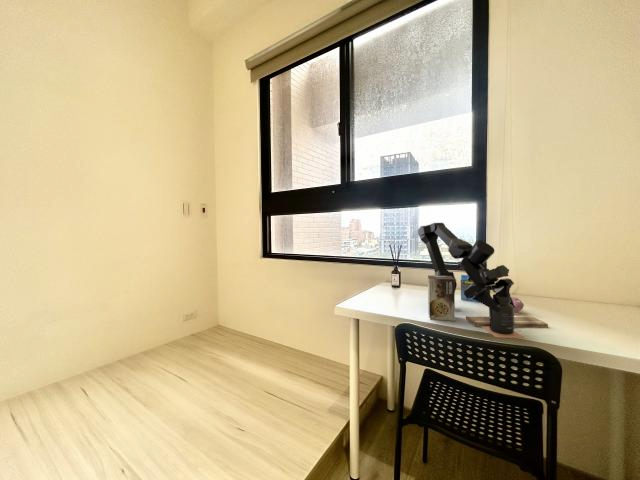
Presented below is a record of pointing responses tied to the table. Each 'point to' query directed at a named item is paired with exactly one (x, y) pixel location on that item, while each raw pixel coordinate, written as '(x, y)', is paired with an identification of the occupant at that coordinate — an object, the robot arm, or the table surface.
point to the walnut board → (517, 321)
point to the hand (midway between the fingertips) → (506, 310)
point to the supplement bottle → (502, 315)
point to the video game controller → (517, 304)
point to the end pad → (497, 335)
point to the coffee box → (441, 298)
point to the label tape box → (465, 284)
